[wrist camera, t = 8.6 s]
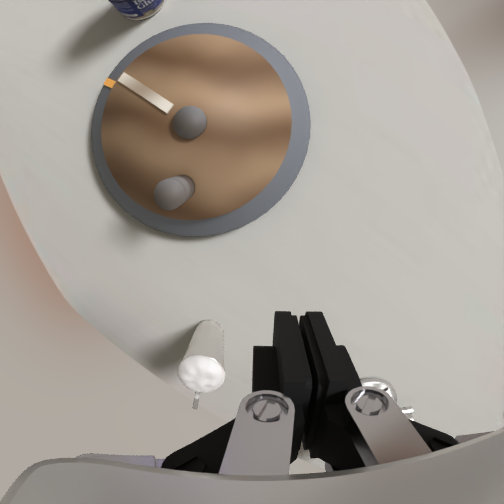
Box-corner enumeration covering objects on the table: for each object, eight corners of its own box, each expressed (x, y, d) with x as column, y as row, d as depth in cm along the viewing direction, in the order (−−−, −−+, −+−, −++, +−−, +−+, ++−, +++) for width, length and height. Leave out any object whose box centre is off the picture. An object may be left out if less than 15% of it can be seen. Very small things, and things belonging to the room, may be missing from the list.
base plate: (316, 39, 26) (320, 33, 24) (292, 243, 32) (295, 248, 31) (113, 33, 25) (106, 28, 23) (94, 224, 31) (87, 227, 30)
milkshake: (187, 347, 36) (171, 403, 27) (193, 310, 35) (176, 364, 25) (224, 355, 36) (217, 413, 27) (232, 319, 35) (227, 375, 25)
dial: (123, 40, 24) (96, 19, 18) (300, 50, 25) (313, 25, 18) (101, 207, 29) (69, 220, 23) (274, 228, 30) (280, 247, 24)
